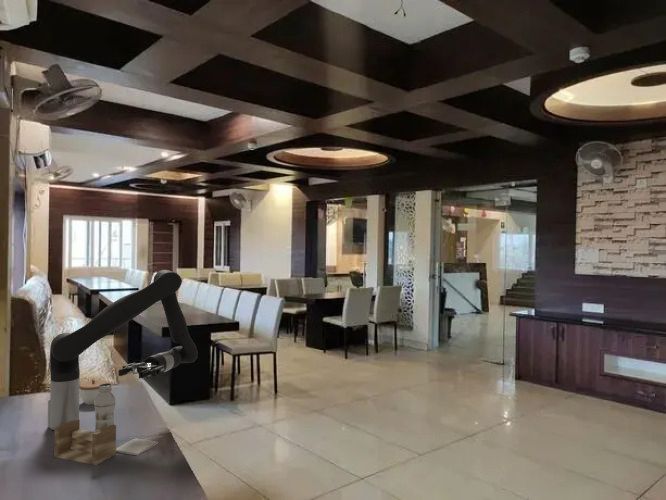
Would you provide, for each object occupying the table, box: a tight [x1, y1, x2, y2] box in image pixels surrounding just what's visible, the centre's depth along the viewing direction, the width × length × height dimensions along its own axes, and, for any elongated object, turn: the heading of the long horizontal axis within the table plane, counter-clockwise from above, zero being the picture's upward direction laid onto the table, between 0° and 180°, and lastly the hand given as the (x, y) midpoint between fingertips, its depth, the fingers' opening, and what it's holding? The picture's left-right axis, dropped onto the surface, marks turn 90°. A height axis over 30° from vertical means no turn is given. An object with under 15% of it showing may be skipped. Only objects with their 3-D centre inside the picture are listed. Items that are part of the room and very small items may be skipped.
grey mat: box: [116, 437, 159, 456], centre depth 159 cm, size 9×10×1 cm
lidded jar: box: [79, 379, 109, 406], centre depth 203 cm, size 11×11×9 cm
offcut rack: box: [53, 418, 117, 466], centre depth 152 cm, size 16×8×9 cm, turn 73°
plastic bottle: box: [93, 383, 117, 432], centre depth 160 cm, size 6×7×20 cm
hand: (129, 374), depth 170 cm, fingers open, 8 cm apart
